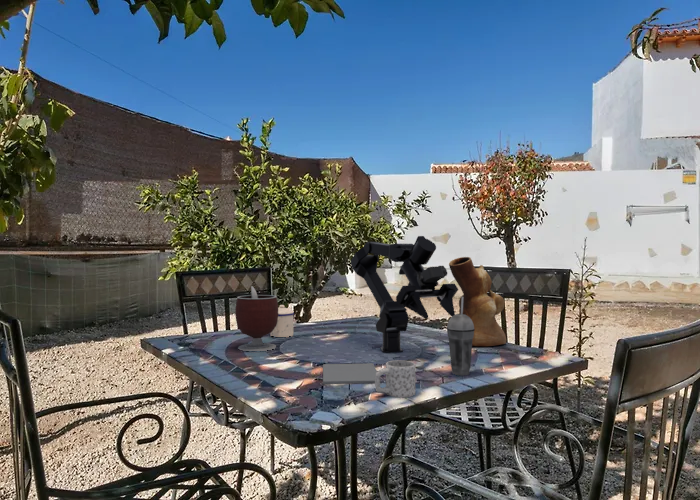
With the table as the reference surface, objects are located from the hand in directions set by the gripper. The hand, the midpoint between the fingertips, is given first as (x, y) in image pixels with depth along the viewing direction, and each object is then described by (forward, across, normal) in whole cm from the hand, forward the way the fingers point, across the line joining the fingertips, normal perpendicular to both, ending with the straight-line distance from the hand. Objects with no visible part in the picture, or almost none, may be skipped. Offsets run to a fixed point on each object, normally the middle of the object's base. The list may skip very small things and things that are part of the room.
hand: (440, 316), depth 135 cm
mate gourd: (-26, -37, +45) cm, 64 cm away
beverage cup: (+16, 0, +4) cm, 16 cm away
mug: (+21, -25, -1) cm, 33 cm away
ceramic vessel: (-4, +30, +24) cm, 39 cm away
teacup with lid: (-38, -23, +56) cm, 72 cm away
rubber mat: (+6, -26, +13) cm, 30 cm away
